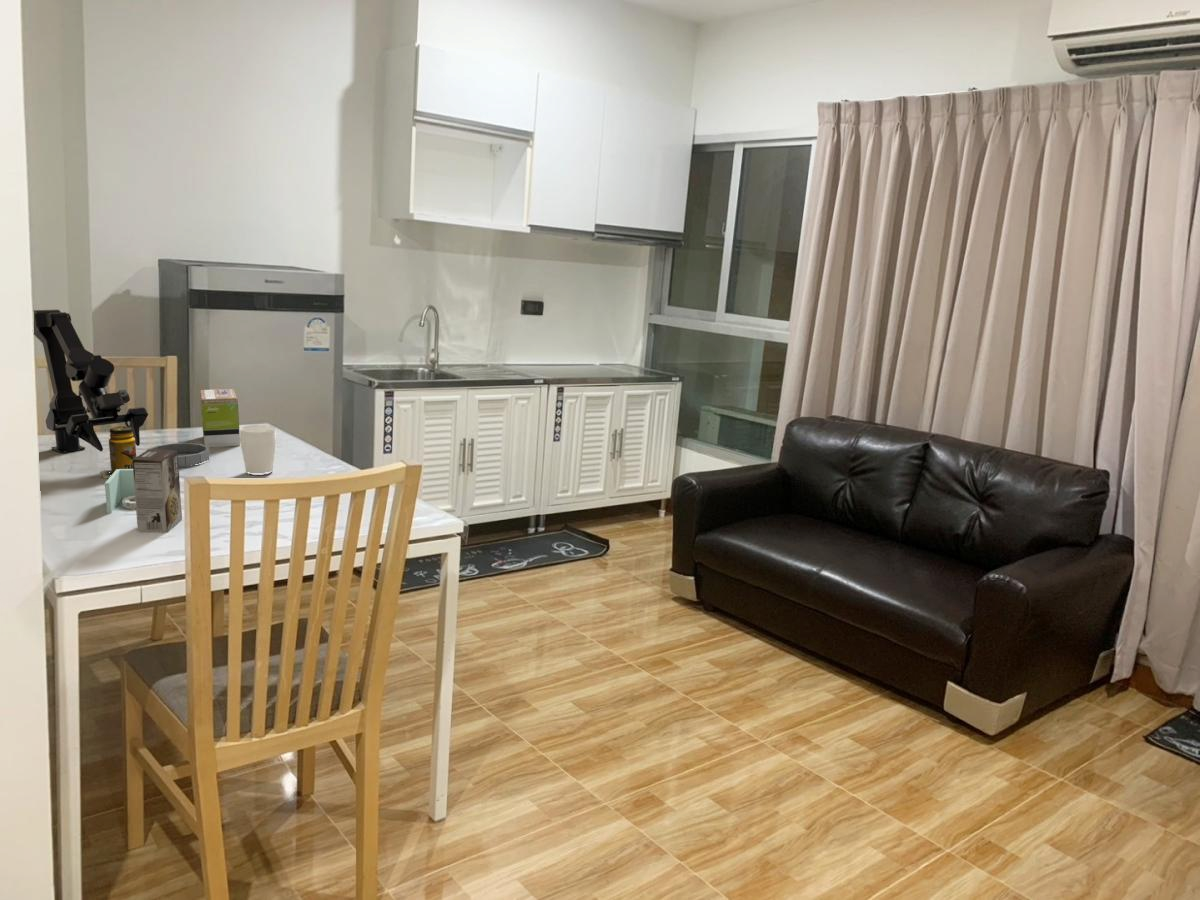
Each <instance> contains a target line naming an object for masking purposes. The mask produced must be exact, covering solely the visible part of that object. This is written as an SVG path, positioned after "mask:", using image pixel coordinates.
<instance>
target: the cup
mask: <svg viewBox="0 0 1200 900" xmlns="http://www.w3.org/2000/svg"><path fill="white" fill-rule="evenodd" d="M239 431H240V447H241V453H242V458H243V462H244V468H245V472H246V471H247V472H250V473H265V472H270V471H272V470H273V471H274V464H275V458H276V457H275V455H276V449H277V448H276V447H277V434H276V427H275V426H272V425H265V424H263V425H262V424H255V425H247V426H243V427H241V428H239Z"/></svg>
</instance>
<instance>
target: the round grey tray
mask: <svg viewBox="0 0 1200 900" xmlns="http://www.w3.org/2000/svg"><path fill="white" fill-rule="evenodd" d="M148 449H162V450H177V454H178V467H179V468H187V467H186V466H190V467H192V466H191V465H195V464H199V463H202V462H204V461H207V460H209V461H210V459H209V456H210V447H208V446H205V445H204V444H202V443H190V442H178V443H175V442H174V443H166V444H160V445H154V446H151V447H149V448H147V449H146V451H147V450H148Z"/></svg>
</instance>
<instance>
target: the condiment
mask: <svg viewBox="0 0 1200 900" xmlns="http://www.w3.org/2000/svg"><path fill="white" fill-rule="evenodd" d="M109 437H110V438H109V439H108V448H109V449H108V450H109V458H110V459H109V460H110V469H108V470H107V469H106V470H105V469H104V470H100V473H101V475H102V478H103V479H109V478H110V475H112V474H113V473H114V472H115V470H116V469H133V461H132V460H133V459H134V458H136V457H137V447H136V446H137V445H136V444H135V438H134V437H133V429H132V428H131V427H127V426H115V427H112V428H110V429H109ZM109 472H110V473H109Z"/></svg>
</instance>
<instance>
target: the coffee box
mask: <svg viewBox="0 0 1200 900" xmlns="http://www.w3.org/2000/svg"><path fill="white" fill-rule="evenodd" d="M147 449H148V450H147ZM147 449H146V450H145V451H143V452H142V453H141V454H139V455H136V458H134V459H133V460H132V461H133V474H134V487H135V500H136V509H135V510H136V511H135V513H136V523H137V525H136V526H137V527H136V528H137V532H139V533H164V534H165V533H169V531H170V530H172V529H173V528H174V527H175V526H176V525H178V523H180V521H182V520H183V513H182V512H183V511H182V498H181V483H180V482H181V481H180V470H179V469H180V467H178V454H177V450H162V449H149V448H147Z"/></svg>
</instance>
